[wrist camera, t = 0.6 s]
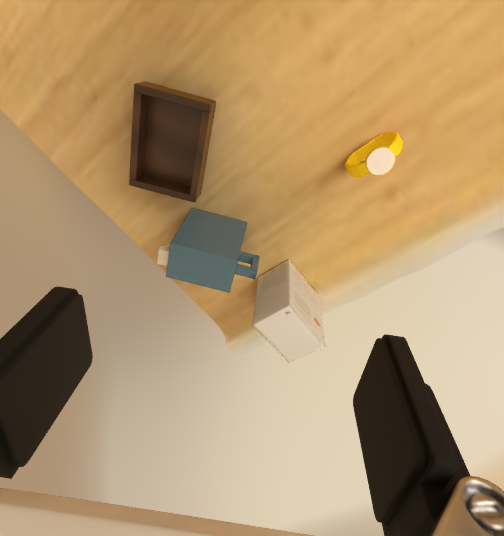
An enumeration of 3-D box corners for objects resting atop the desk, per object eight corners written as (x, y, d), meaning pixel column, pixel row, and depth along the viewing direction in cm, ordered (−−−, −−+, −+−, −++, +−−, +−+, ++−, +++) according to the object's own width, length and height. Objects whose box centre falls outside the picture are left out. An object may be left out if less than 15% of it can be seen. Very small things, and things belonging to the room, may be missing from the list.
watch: (350, 173, 41) (358, 190, 36) (338, 154, 40) (345, 168, 35) (398, 143, 39) (414, 156, 34) (387, 121, 38) (402, 132, 33)
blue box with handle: (182, 205, 46) (158, 240, 37) (265, 227, 46) (260, 266, 38) (178, 234, 48) (154, 274, 39) (257, 255, 48) (250, 298, 40)
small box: (257, 276, 50) (250, 324, 41) (289, 257, 48) (289, 304, 39) (288, 312, 53) (288, 364, 44) (320, 296, 51) (326, 347, 42)
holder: (144, 81, 38) (134, 83, 36) (216, 101, 39) (211, 104, 36) (138, 177, 44) (128, 185, 41) (200, 193, 44) (195, 202, 42)
